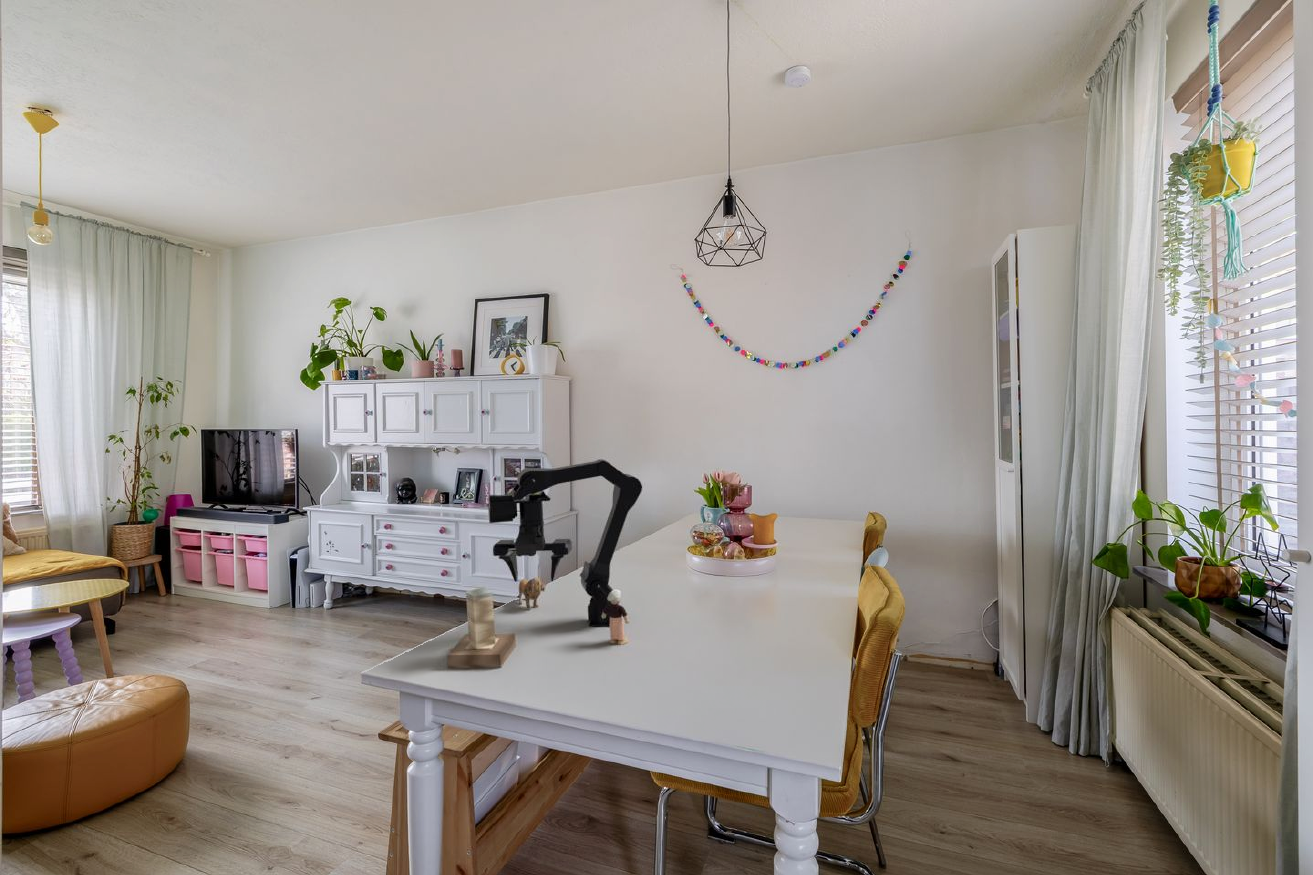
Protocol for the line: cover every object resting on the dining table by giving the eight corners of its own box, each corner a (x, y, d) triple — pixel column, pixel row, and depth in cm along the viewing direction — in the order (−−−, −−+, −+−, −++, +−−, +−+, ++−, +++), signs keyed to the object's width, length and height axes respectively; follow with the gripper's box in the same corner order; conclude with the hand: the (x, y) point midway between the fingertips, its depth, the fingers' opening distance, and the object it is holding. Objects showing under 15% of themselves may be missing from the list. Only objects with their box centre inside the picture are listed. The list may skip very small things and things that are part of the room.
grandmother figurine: (634, 639, 158) (632, 588, 157) (628, 646, 155) (626, 593, 154) (605, 637, 161) (602, 586, 160) (598, 643, 157) (596, 591, 156)
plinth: (515, 645, 157) (515, 632, 157) (501, 667, 145) (500, 653, 145) (466, 646, 158) (465, 633, 158) (447, 668, 146) (446, 654, 146)
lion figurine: (549, 609, 182) (548, 577, 182) (532, 614, 179) (530, 581, 178) (525, 597, 194) (523, 567, 193) (508, 601, 191) (506, 570, 190)
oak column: (487, 637, 154) (484, 587, 153) (495, 643, 151) (492, 591, 150) (468, 642, 152) (465, 591, 151) (476, 648, 148) (473, 596, 147)
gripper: (484, 527, 156) (487, 591, 157) (562, 525, 155) (565, 590, 156) (498, 517, 167) (501, 577, 168) (571, 516, 166) (573, 577, 167)
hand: (534, 581), depth 165 cm, fingers open, 9 cm apart
